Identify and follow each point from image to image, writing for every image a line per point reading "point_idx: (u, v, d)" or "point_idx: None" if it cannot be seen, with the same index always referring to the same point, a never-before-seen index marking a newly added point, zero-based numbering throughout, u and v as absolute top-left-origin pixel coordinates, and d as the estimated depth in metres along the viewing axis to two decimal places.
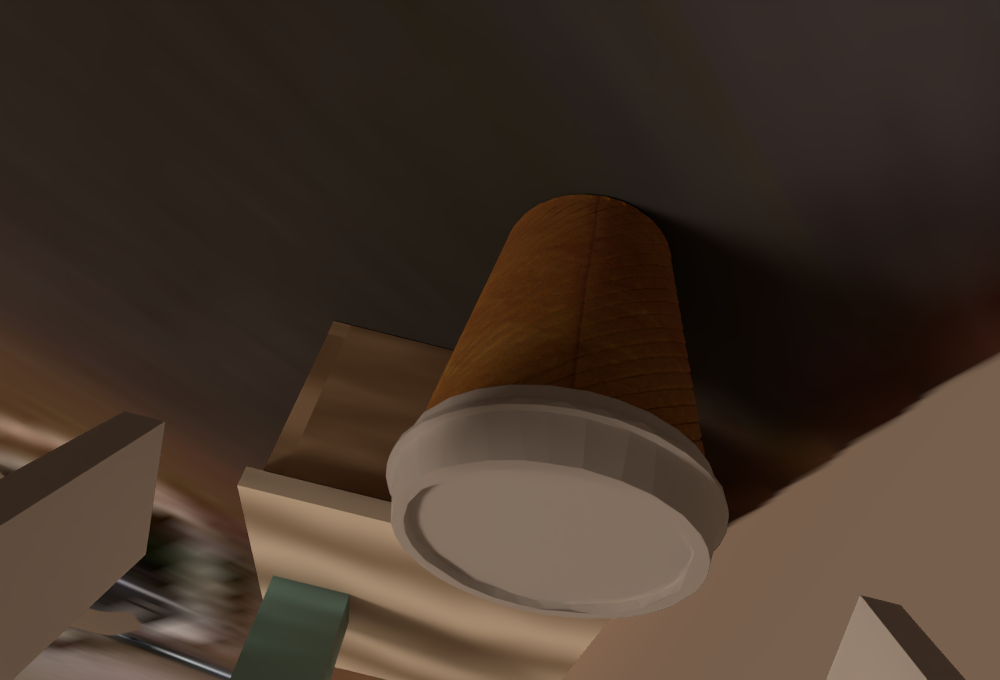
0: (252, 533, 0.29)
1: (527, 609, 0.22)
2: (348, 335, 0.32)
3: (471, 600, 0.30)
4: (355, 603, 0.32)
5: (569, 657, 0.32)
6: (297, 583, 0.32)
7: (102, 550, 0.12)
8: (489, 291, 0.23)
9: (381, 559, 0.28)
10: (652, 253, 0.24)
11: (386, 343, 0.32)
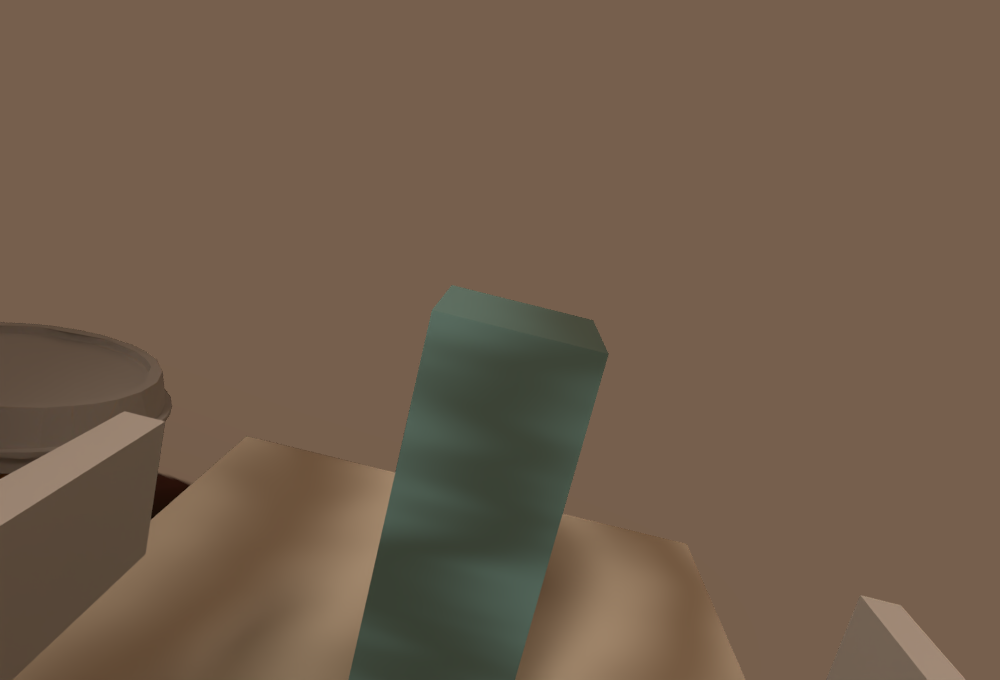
0: None
1: (146, 384, 0.25)
2: None
3: (329, 527, 0.24)
4: None
5: None
6: None
7: (102, 550, 0.12)
8: None
9: (229, 576, 0.20)
10: None
11: None
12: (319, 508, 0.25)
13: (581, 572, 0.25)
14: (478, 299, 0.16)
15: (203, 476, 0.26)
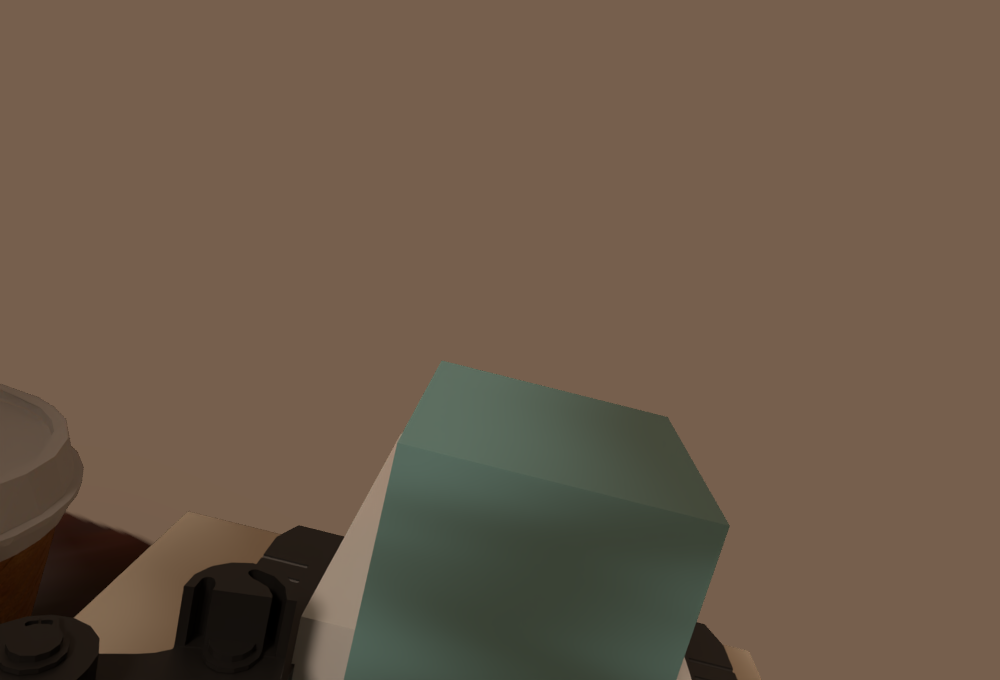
0: None
1: (38, 461, 0.19)
2: None
3: None
4: None
5: None
6: None
7: None
8: None
9: None
10: None
11: None
12: None
13: None
14: (484, 392, 0.10)
15: (117, 581, 0.19)
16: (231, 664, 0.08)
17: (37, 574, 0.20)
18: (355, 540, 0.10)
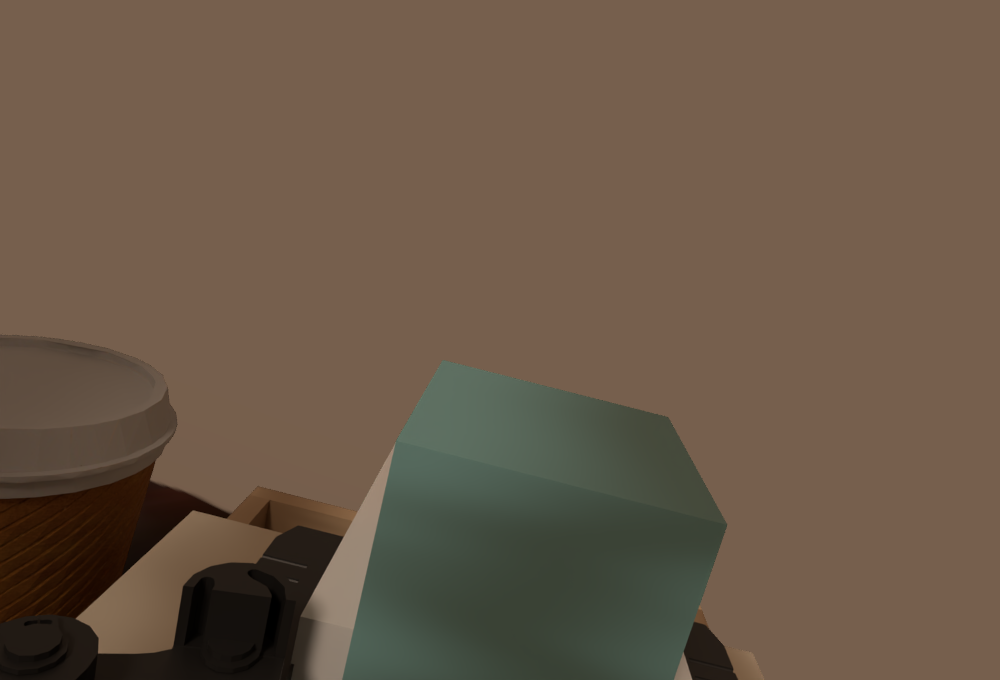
0: None
1: (150, 402, 0.24)
2: None
3: None
4: None
5: None
6: None
7: None
8: None
9: None
10: None
11: None
12: None
13: None
14: (484, 391, 0.10)
15: (122, 579, 0.19)
16: (230, 664, 0.08)
17: (143, 495, 0.25)
18: (354, 540, 0.10)
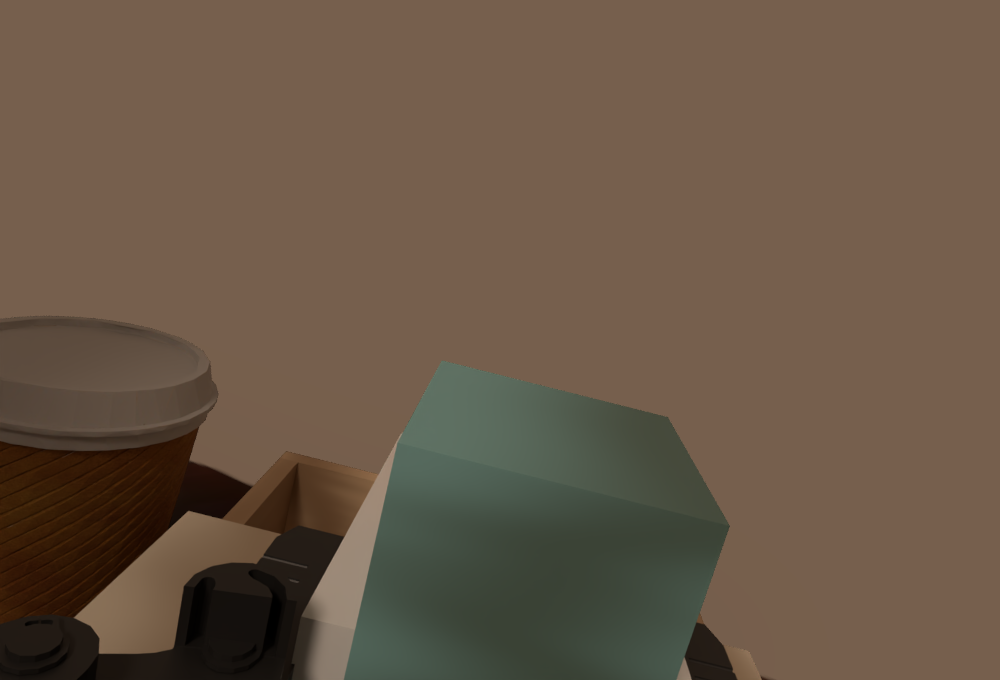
0: None
1: (198, 373, 0.27)
2: None
3: None
4: None
5: None
6: None
7: None
8: None
9: None
10: None
11: None
12: None
13: None
14: (484, 392, 0.10)
15: (117, 580, 0.19)
16: (231, 664, 0.08)
17: (189, 456, 0.29)
18: (355, 540, 0.10)
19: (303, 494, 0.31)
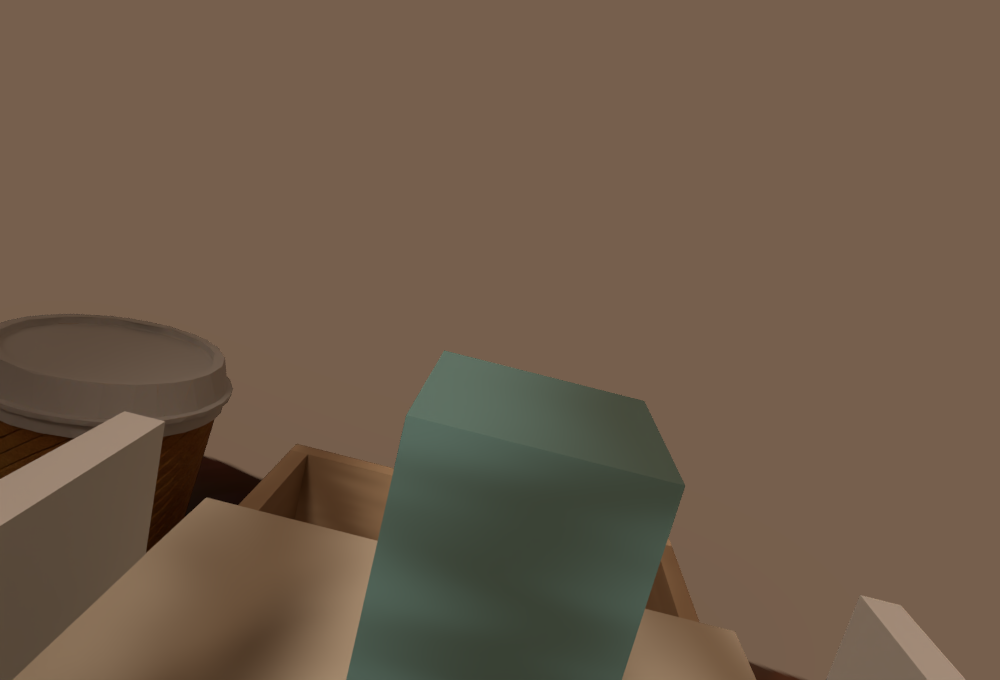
0: None
1: (213, 368, 0.29)
2: None
3: (295, 630, 0.19)
4: None
5: None
6: None
7: (102, 550, 0.12)
8: None
9: None
10: None
11: None
12: (285, 601, 0.20)
13: None
14: (481, 377, 0.11)
15: (143, 559, 0.21)
16: None
17: (205, 447, 0.30)
18: None
19: (313, 485, 0.33)
